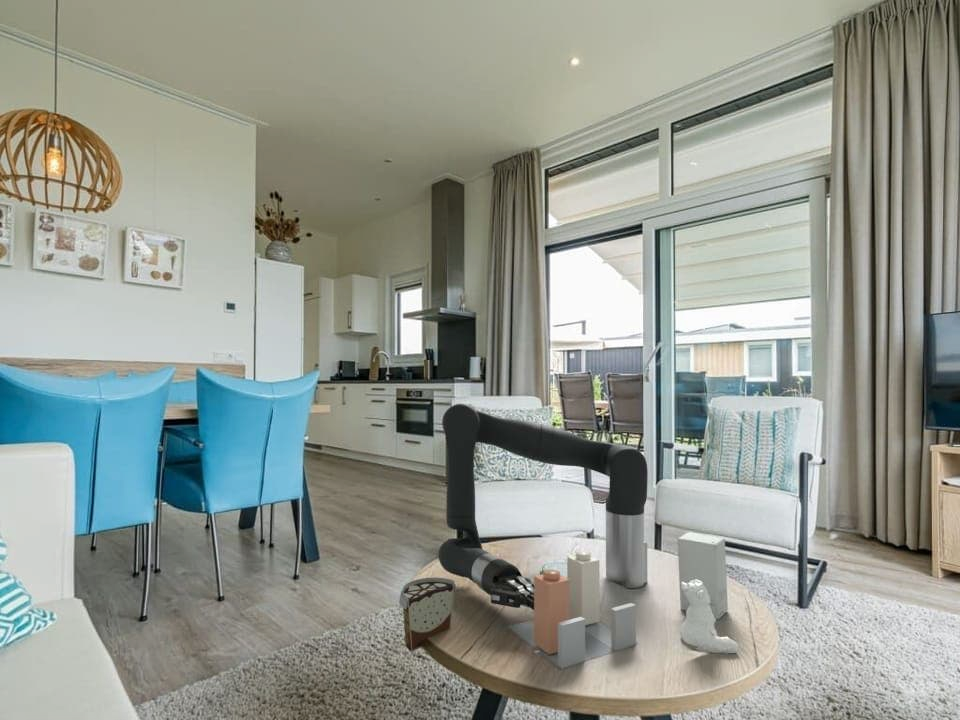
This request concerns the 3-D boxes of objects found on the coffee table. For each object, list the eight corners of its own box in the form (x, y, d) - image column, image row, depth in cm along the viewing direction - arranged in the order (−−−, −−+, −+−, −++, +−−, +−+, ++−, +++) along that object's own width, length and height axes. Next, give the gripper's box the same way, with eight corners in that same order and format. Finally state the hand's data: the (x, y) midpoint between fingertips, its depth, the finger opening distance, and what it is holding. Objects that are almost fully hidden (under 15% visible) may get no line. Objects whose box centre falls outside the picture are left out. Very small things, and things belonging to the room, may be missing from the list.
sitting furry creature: (741, 654, 94) (740, 586, 95) (703, 662, 91) (703, 593, 92) (702, 630, 103) (701, 569, 104) (666, 637, 100) (666, 574, 101)
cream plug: (584, 612, 107) (584, 548, 108) (599, 621, 103) (599, 554, 104) (567, 617, 105) (567, 551, 106) (581, 626, 101) (581, 558, 102)
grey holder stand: (577, 613, 110) (577, 574, 110) (638, 650, 95) (638, 604, 96) (503, 633, 101) (503, 591, 101) (557, 677, 86) (557, 627, 87)
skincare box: (728, 611, 112) (727, 538, 113) (717, 621, 107) (717, 545, 108) (689, 600, 118) (688, 530, 118) (677, 609, 113) (677, 536, 113)
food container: (435, 621, 106) (436, 571, 107) (456, 632, 102) (456, 580, 102) (385, 642, 98) (386, 588, 98) (404, 654, 93) (405, 597, 94)
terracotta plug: (553, 637, 97) (554, 566, 97) (569, 648, 93) (569, 574, 93) (534, 643, 94) (534, 570, 95) (549, 654, 91) (549, 578, 91)
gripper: (468, 563, 108) (514, 593, 93) (521, 553, 114) (572, 580, 99) (468, 600, 108) (513, 636, 92) (521, 588, 114) (572, 620, 99)
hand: (544, 607), depth 96 cm, fingers closed
